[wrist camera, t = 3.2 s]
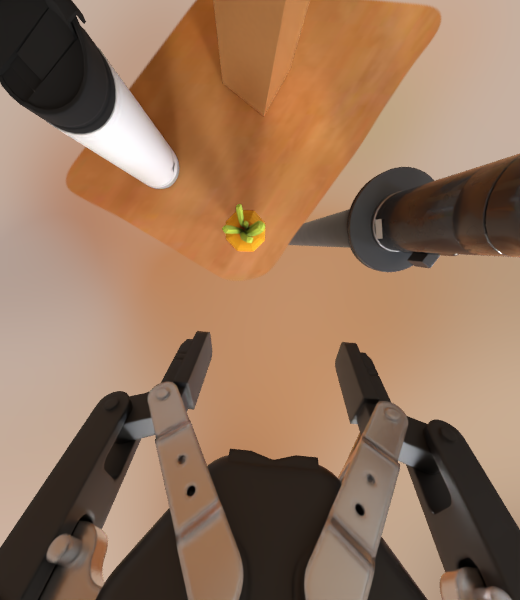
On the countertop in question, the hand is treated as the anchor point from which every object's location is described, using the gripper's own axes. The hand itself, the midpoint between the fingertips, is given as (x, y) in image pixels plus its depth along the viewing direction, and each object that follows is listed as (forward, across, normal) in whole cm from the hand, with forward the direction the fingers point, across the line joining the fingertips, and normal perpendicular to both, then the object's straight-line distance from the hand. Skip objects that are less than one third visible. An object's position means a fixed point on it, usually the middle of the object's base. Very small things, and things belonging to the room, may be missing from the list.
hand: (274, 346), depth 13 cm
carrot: (+25, -5, -1) cm, 26 cm away
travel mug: (+26, -18, +8) cm, 33 cm away
